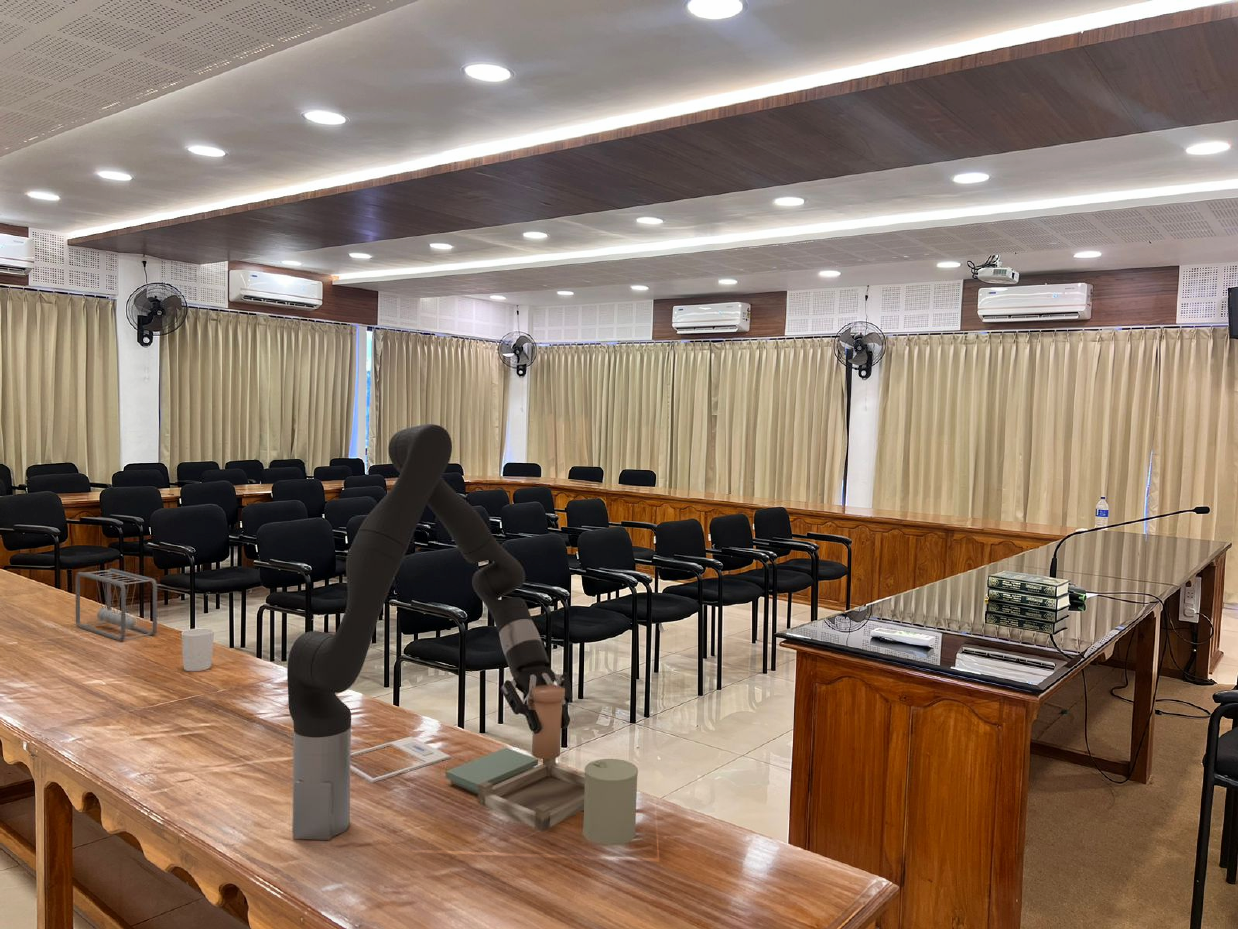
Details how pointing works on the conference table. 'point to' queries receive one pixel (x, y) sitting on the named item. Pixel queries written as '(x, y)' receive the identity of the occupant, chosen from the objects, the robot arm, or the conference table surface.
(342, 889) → the conference table surface
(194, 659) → the white cup
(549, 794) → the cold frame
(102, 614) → the newton's cradle
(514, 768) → the green stand
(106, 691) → the conference table surface
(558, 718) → the brown capped bottle
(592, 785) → the can
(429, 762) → the photo frame
